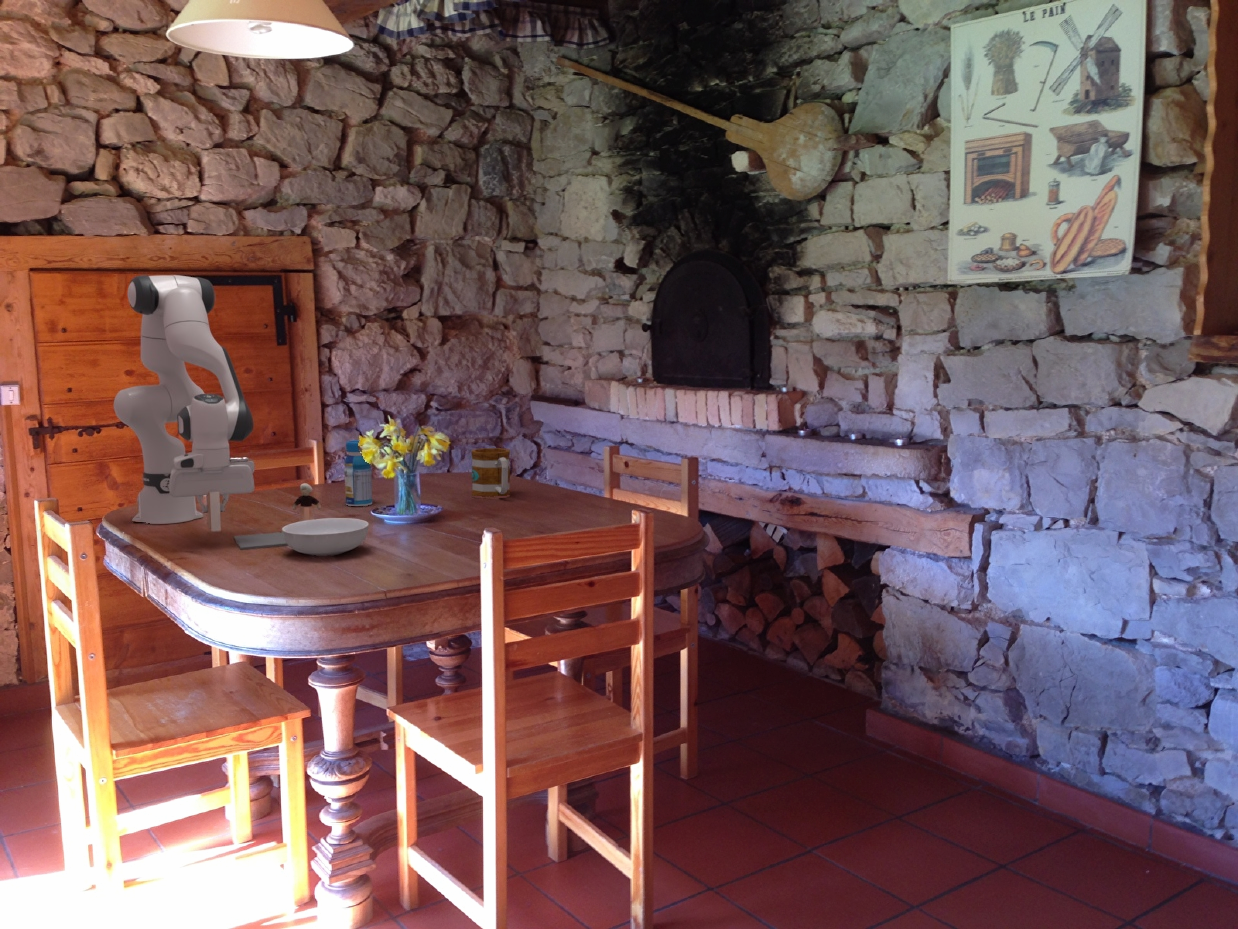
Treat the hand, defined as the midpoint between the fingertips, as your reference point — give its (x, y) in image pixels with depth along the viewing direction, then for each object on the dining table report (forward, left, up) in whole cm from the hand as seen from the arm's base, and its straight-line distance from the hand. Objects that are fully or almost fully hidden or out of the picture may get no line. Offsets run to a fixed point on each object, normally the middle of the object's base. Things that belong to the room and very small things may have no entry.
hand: (213, 512), depth 265 cm
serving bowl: (+20, +24, -9) cm, 32 cm away
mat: (+1, +13, -9) cm, 16 cm away
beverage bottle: (-42, +46, -9) cm, 63 cm away
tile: (0, 0, -4) cm, 4 cm away
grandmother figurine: (-12, +25, -9) cm, 30 cm away
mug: (-37, +89, -9) cm, 97 cm away
